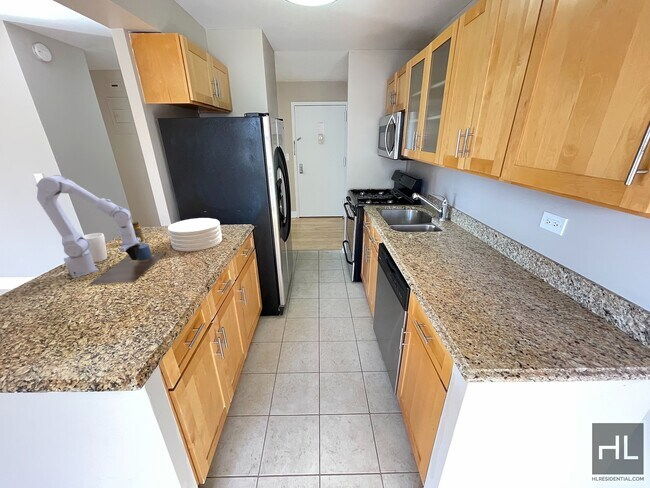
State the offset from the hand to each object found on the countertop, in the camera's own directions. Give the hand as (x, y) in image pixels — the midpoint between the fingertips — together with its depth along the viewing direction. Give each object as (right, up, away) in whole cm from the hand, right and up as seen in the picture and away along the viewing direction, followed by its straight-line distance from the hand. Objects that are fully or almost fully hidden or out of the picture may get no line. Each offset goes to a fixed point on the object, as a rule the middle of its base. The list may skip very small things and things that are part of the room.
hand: (135, 259), depth 130 cm
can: (0, +1, +7) cm, 7 cm away
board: (+1, -4, -2) cm, 4 cm away
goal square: (-1, 0, +7) cm, 7 cm away
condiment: (-20, +9, +30) cm, 37 cm away
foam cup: (-23, 0, +6) cm, 24 cm away
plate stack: (+17, +9, +29) cm, 35 cm away
